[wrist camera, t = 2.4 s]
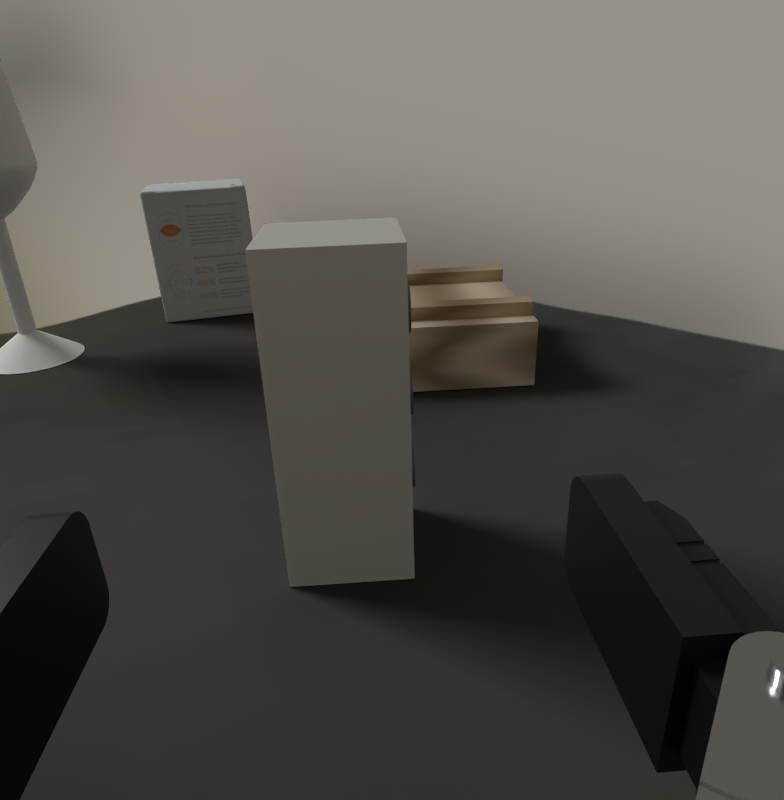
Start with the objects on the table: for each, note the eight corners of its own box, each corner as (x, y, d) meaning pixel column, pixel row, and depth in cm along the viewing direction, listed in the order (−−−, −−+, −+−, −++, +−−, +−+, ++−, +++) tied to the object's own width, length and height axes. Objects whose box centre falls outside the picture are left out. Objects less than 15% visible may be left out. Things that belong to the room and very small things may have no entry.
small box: (259, 296, 58) (244, 177, 54) (263, 313, 53) (246, 183, 49) (169, 305, 56) (146, 183, 52) (164, 324, 52) (138, 190, 47)
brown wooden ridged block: (368, 394, 37) (364, 316, 35) (364, 330, 48) (361, 268, 46) (534, 385, 38) (539, 307, 36) (493, 323, 48) (495, 261, 46)
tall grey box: (289, 587, 22) (244, 249, 17) (299, 513, 26) (265, 223, 21) (419, 578, 23) (413, 242, 17) (409, 506, 27) (401, 217, 22)
